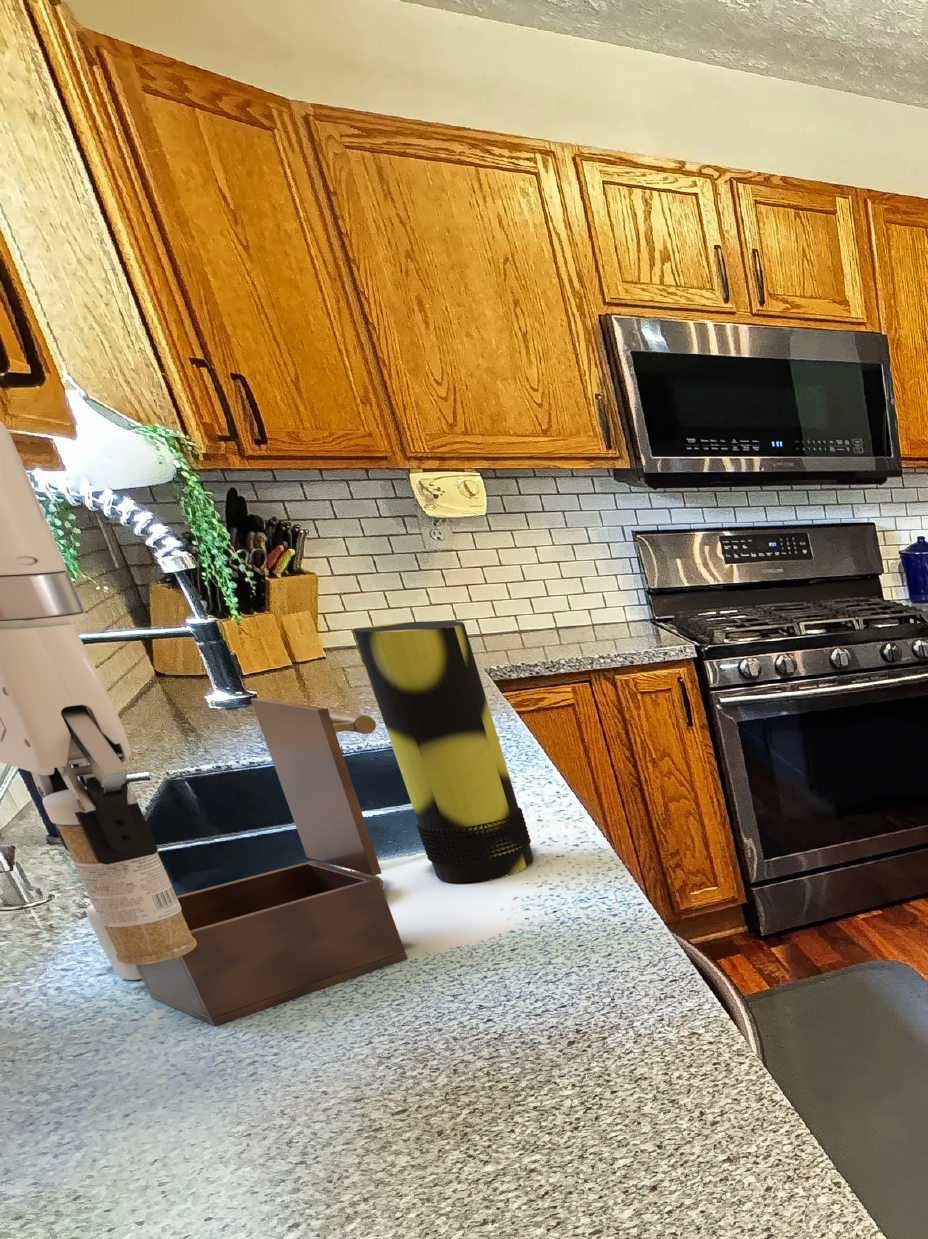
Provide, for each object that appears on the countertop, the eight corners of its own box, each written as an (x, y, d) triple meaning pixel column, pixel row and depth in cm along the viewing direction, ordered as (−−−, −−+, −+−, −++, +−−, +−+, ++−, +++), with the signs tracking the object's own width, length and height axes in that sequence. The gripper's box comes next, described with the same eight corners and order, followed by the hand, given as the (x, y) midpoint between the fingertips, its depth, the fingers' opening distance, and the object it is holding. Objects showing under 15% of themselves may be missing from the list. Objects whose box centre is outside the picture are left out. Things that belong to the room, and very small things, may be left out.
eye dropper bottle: (116, 972, 99) (60, 860, 94) (193, 953, 103) (143, 845, 98) (120, 985, 97) (62, 870, 92) (198, 965, 100) (147, 854, 96)
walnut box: (215, 1026, 89) (173, 937, 85) (151, 998, 94) (109, 913, 91) (408, 958, 102) (379, 879, 98) (342, 936, 107) (312, 860, 103)
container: (515, 849, 133) (446, 618, 121) (551, 865, 127) (482, 624, 115) (420, 872, 125) (336, 627, 113) (454, 891, 119) (368, 634, 107)
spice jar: (159, 942, 80) (87, 781, 75) (215, 943, 80) (147, 782, 75) (100, 967, 76) (19, 799, 71) (159, 968, 76) (83, 800, 71)
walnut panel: (317, 709, 92) (386, 700, 96) (250, 698, 97) (318, 690, 101) (372, 875, 98) (435, 859, 102) (306, 857, 103) (368, 842, 108)
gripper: (-130, 599, 68) (-5, 849, 75) (-34, 615, 61) (94, 889, 68) (27, 590, 74) (129, 822, 81) (130, 604, 67) (231, 856, 75)
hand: (112, 850), depth 75 cm, fingers closed on spice jar, 4 cm apart
